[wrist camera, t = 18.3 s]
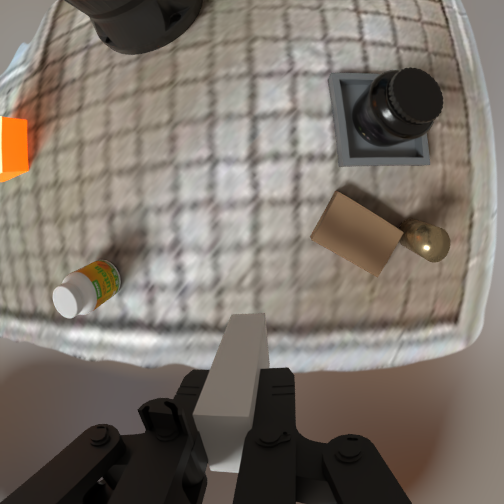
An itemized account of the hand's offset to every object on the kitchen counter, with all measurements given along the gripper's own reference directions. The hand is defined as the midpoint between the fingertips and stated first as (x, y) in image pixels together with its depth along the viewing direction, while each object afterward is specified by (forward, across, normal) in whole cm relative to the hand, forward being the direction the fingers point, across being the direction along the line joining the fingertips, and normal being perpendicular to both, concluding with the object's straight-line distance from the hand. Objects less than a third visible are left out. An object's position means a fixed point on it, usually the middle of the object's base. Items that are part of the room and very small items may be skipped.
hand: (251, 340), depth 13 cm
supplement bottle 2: (+22, +14, +14) cm, 29 cm away
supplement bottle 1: (+23, -23, -3) cm, 32 cm away
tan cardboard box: (+23, +10, 0) cm, 25 cm away
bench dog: (+22, +17, 0) cm, 28 cm away
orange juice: (+23, -40, +19) cm, 50 cm away
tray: (+22, +14, +14) cm, 30 cm away
